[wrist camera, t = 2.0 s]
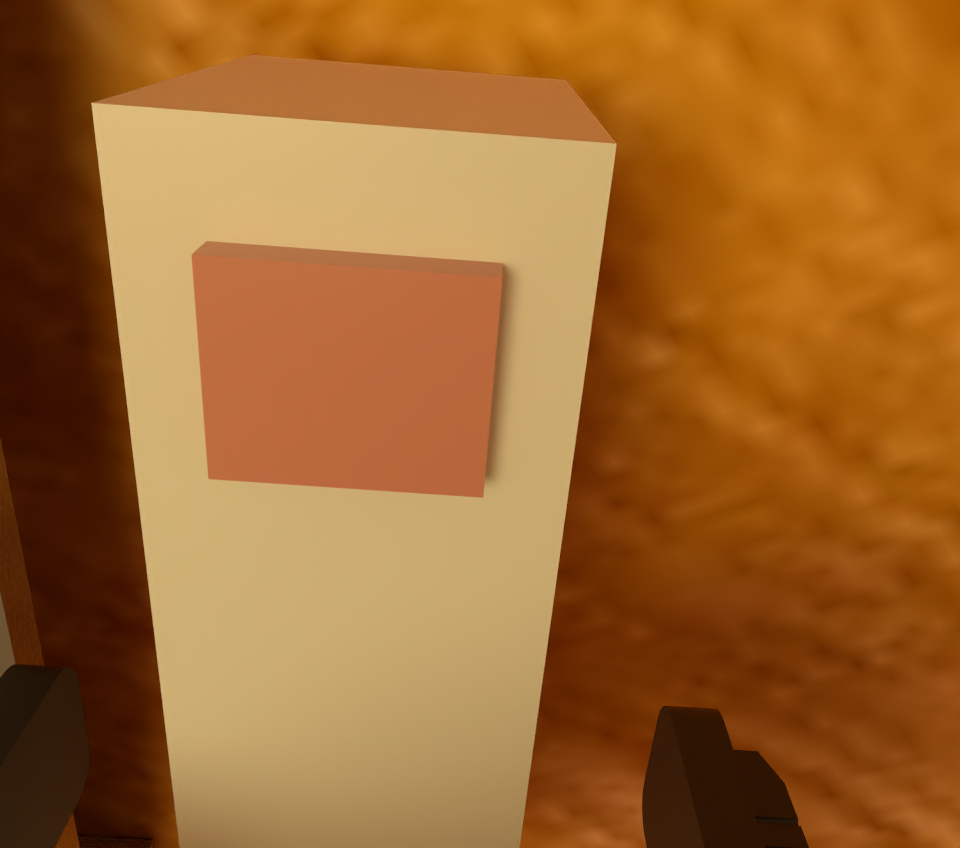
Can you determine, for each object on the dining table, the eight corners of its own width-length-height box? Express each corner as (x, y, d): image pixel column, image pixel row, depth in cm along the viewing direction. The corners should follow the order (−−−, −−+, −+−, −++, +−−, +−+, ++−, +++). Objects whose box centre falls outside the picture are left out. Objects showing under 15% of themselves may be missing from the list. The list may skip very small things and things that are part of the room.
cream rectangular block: (297, 40, 14) (67, 109, 6) (551, 60, 14) (624, 153, 6) (311, 769, 21) (210, 1208, 13) (478, 779, 21) (472, 1219, 14)
